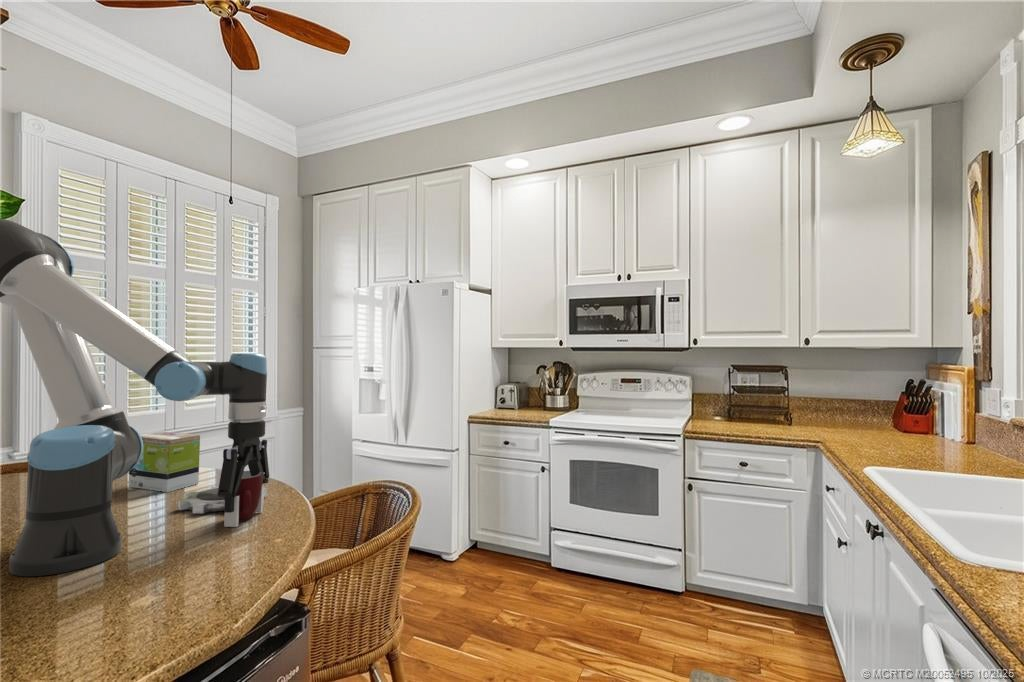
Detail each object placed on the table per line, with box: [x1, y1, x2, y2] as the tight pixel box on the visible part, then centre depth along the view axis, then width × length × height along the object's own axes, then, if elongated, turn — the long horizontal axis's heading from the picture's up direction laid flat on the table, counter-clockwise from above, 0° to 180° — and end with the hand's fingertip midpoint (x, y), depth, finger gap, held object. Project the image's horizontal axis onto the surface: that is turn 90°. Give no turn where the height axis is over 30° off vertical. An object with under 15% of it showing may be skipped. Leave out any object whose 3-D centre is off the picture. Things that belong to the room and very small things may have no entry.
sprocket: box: [177, 485, 268, 515], centre depth 123 cm, size 19×19×8 cm
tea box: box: [128, 431, 201, 493], centre depth 139 cm, size 15×10×15 cm
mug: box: [224, 470, 264, 522], centre depth 111 cm, size 11×8×10 cm
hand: (244, 518), depth 111 cm, fingers open, 9 cm apart
